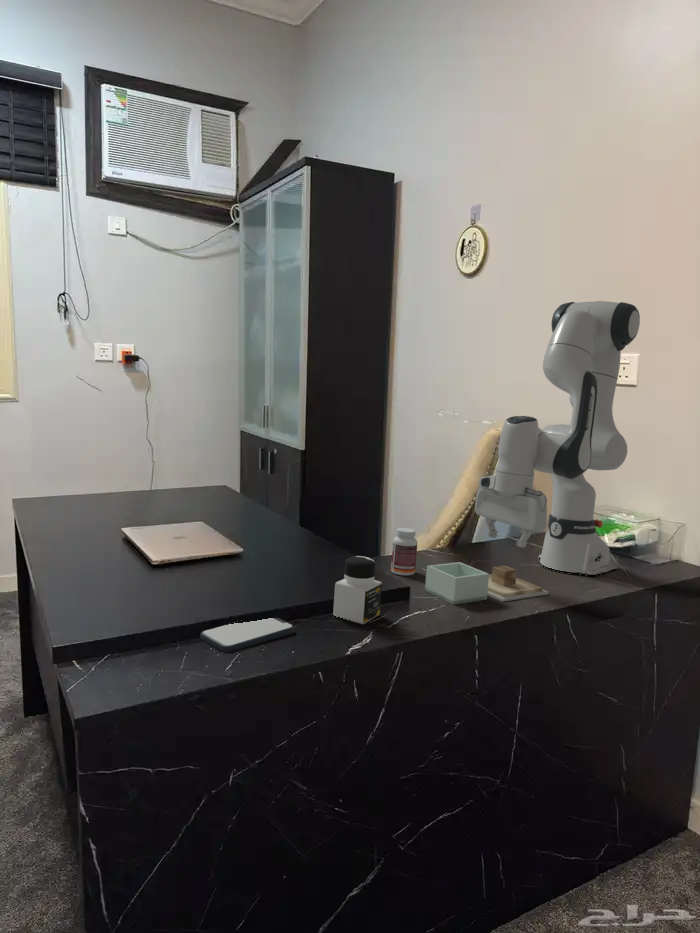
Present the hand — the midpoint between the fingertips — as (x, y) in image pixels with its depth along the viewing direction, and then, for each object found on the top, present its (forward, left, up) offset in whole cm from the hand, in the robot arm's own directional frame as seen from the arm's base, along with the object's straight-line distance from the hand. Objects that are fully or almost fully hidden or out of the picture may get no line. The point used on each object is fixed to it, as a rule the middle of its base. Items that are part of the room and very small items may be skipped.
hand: (506, 541), depth 161 cm
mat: (-1, 0, -12) cm, 12 cm away
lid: (-1, 0, -11) cm, 11 cm away
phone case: (+67, +4, -12) cm, 69 cm away
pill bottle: (+15, -19, -12) cm, 27 cm away
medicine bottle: (+43, +3, -12) cm, 45 cm away
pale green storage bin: (+14, 0, -12) cm, 18 cm away
